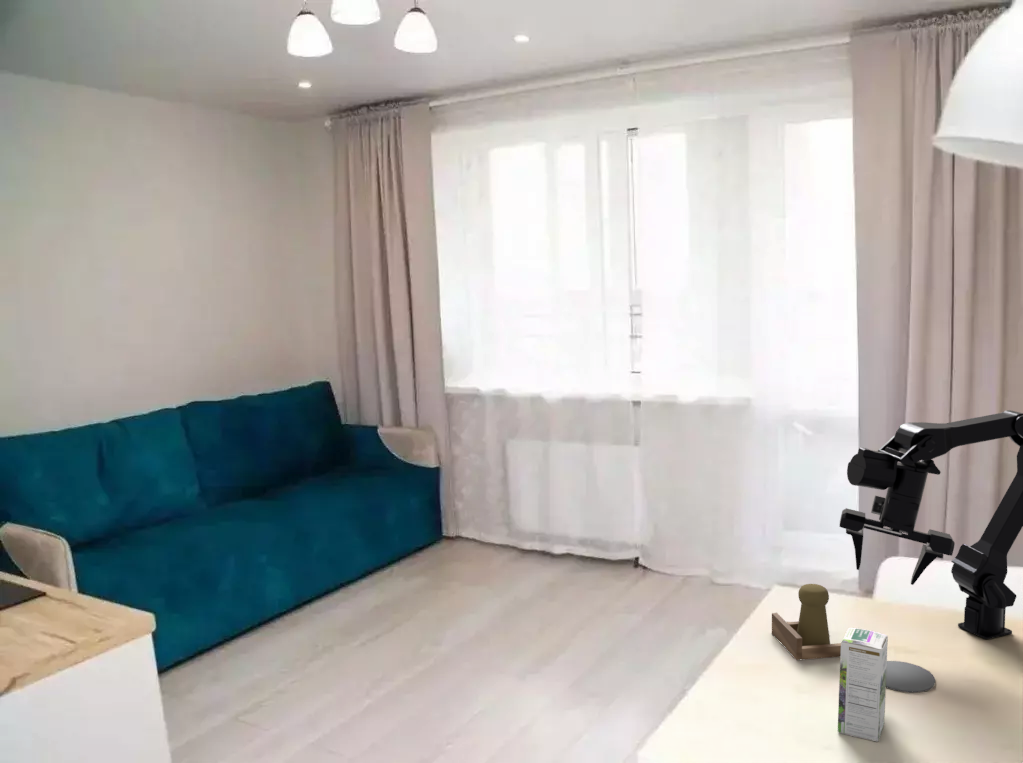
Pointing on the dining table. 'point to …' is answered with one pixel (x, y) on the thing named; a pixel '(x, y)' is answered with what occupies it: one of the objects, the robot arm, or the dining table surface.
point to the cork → (813, 615)
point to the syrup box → (862, 683)
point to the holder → (800, 641)
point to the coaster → (908, 677)
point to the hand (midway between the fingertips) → (884, 576)
